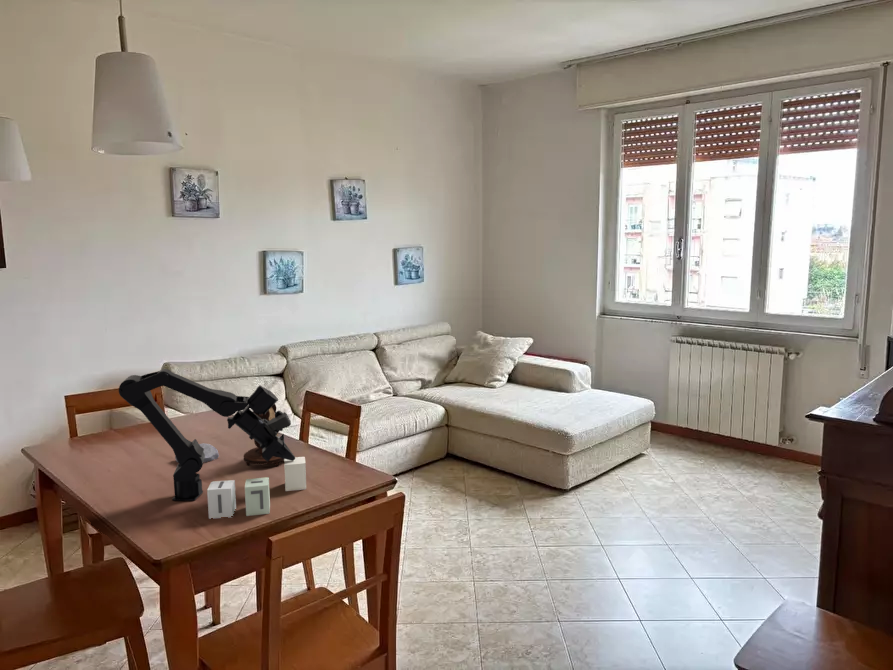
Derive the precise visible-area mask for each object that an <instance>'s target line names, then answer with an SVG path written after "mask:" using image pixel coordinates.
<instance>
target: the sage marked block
mask: <svg viewBox="0 0 893 670" xmlns="http://www.w3.org/2000/svg"><path fill="white" fill-rule="evenodd" d="M244 498H245V499H244V500H245V515H246V517H249V516H259V515H268V514H270V513H271V512H270V511H271V500H270V499H271V498H270V478H269V476H268V477H267V476H266V477H257V478H246V479H245V484H244Z"/></svg>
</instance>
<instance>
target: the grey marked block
mask: <svg viewBox="0 0 893 670" xmlns="http://www.w3.org/2000/svg"><path fill="white" fill-rule="evenodd" d="M206 491H207V507H208V508H207V509H208V511H207V512H208V519H209V520H211V518H213V519H222V518H221V517H228V518H232V517H231V516H233V517H234V515H233V514H235V512H234V511H236V510H237V499H236V498H237V497H236V481H235V479H231V480H229V479H228V480H216V481H210V484H209V486H208V488H207V489H206ZM235 509H236V510H235Z"/></svg>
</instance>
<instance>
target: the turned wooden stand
mask: <svg viewBox="0 0 893 670" xmlns="http://www.w3.org/2000/svg"><path fill="white" fill-rule="evenodd" d="M252 412H254V411H253V410H252ZM275 412H277V405H276V403H275V404H274V405H273V406H272V407H271V408H270V409H269V410H268V411H267V412H266V413H265V414H261V415H258V414H256V413H255V412H254V413H255V414H256V415H257V416H258V417H260V418H261V419H262V420H263V419H266V420H267V421H270V420H272V418H275ZM277 436H279V432H278V433H277ZM253 442H254V444H255V447H253V448H251V449H249V450H248V451H246V452H244V454H243V461H244V462H245V463H246V466H247V465H251V464H252V465H270V464H271V465H272V464H274V466H275V467H277V466H278V465H279V462H283V461H284V459H283V458H279V457H274V456H273V457H272V458H271V459H270V460H269V461H266V460H265V459H264V458H262V448H261V447H260V444H259V443H258V442H257V441H255V440H254V439H253Z"/></svg>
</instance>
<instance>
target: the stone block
mask: <svg viewBox="0 0 893 670" xmlns="http://www.w3.org/2000/svg"><path fill="white" fill-rule="evenodd" d="M198 444H199V445H200V446H201V447H202V448H204V451H203V452H204V454H205V459H204V463H207V462H208V461H209V462H212V460H213V461H215V460H217V459H219V458H218V457H220V454H219V451H218V449H217V448H216V447H215V446H214V445H212V444H210V443H204V442H203V443H198ZM174 459H175V462H176V463H178V461H177V459H176V456H175V455H174ZM214 459H215V460H214Z"/></svg>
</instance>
